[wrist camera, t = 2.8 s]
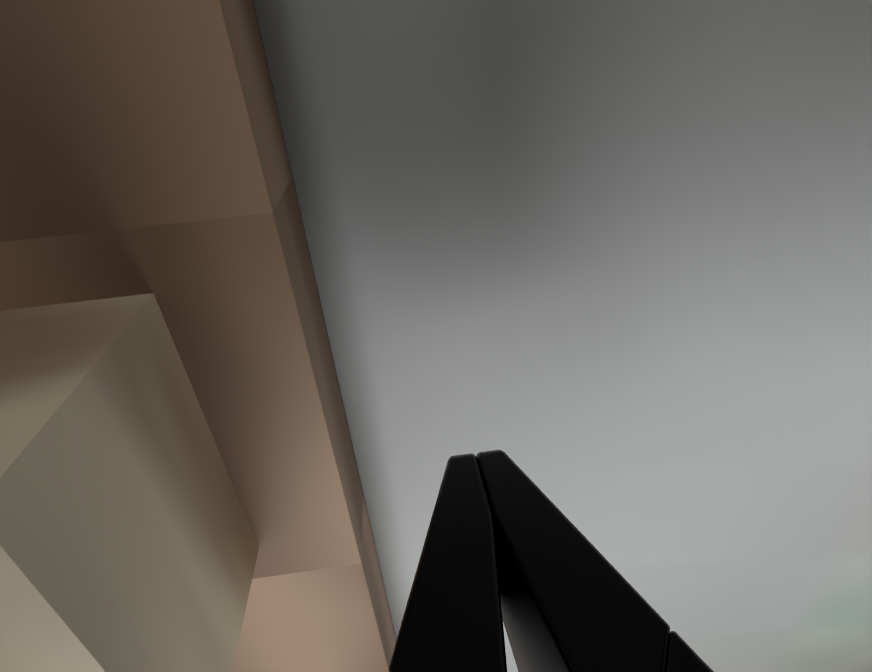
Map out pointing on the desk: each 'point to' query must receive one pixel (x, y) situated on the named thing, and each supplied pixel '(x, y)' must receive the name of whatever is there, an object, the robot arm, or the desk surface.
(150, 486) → the birch block
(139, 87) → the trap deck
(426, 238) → the desk surface
